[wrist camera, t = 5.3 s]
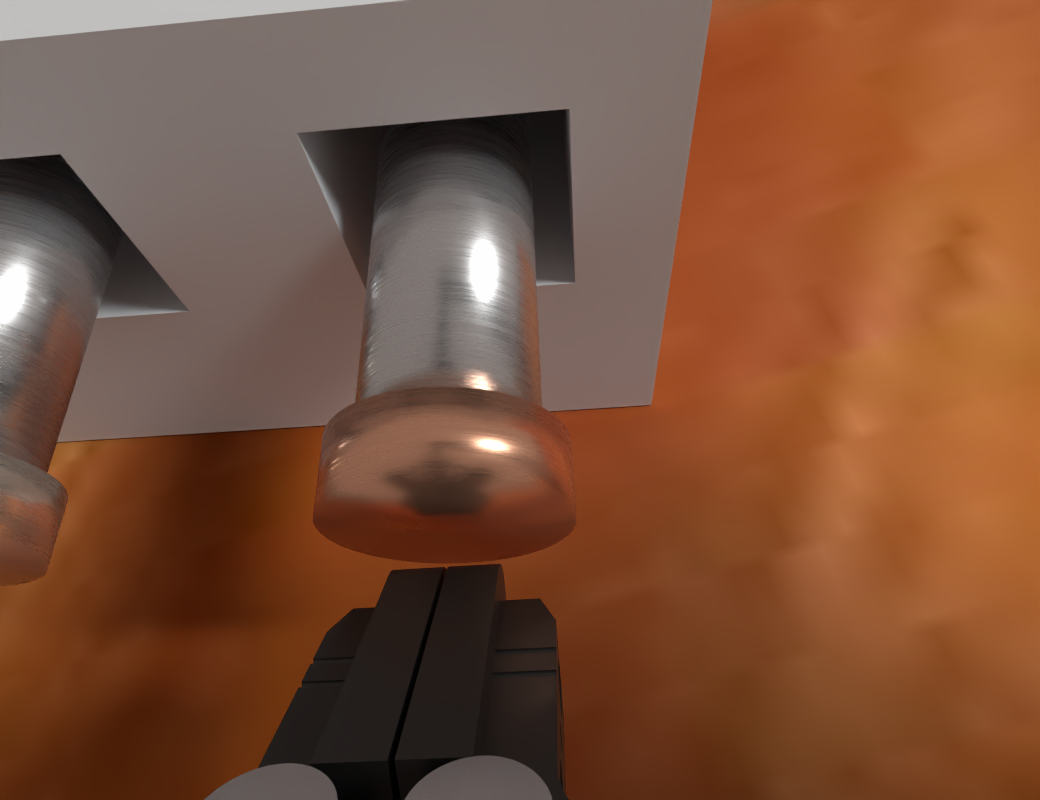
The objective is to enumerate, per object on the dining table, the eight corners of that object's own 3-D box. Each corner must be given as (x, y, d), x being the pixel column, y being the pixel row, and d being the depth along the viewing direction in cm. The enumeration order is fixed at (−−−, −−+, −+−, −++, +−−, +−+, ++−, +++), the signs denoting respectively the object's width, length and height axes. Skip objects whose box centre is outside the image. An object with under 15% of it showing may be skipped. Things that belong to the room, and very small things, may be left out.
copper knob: (577, 557, 12) (573, 466, 8) (356, 568, 12) (270, 484, 9) (551, 149, 16) (541, -10, 13) (390, 163, 16) (343, 10, 13)
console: (651, 404, 19) (717, -32, 9) (-197, 458, 21) (-944, 135, 11) (612, 99, 25) (625, -373, 15) (-48, 158, 26) (-438, -234, 16)
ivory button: (96, 581, 12) (-80, 505, 9) (-108, 592, 12) (-350, 520, 9) (200, 179, 16) (109, 34, 13) (49, 192, 17) (-76, 51, 14)
